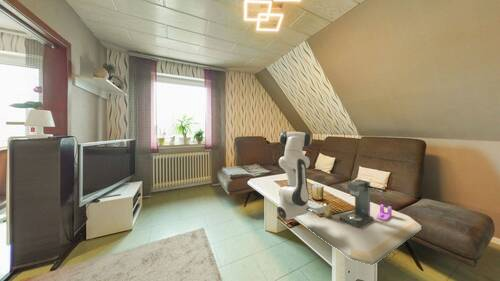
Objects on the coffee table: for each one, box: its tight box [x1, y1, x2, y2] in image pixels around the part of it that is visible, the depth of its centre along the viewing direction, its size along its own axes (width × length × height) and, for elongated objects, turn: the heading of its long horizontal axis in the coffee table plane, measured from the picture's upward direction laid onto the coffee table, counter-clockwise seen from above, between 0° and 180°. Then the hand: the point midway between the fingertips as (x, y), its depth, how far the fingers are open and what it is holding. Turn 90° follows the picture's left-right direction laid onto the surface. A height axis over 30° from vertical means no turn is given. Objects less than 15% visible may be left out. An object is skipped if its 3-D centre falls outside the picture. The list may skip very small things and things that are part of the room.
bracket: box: [376, 204, 393, 222], centre depth 116 cm, size 13×6×7 cm, turn 127°
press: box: [339, 178, 387, 229], centre depth 109 cm, size 18×20×25 cm
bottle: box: [323, 201, 333, 220], centre depth 118 cm, size 5×5×10 cm
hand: (316, 202), depth 111 cm, fingers open, 8 cm apart
